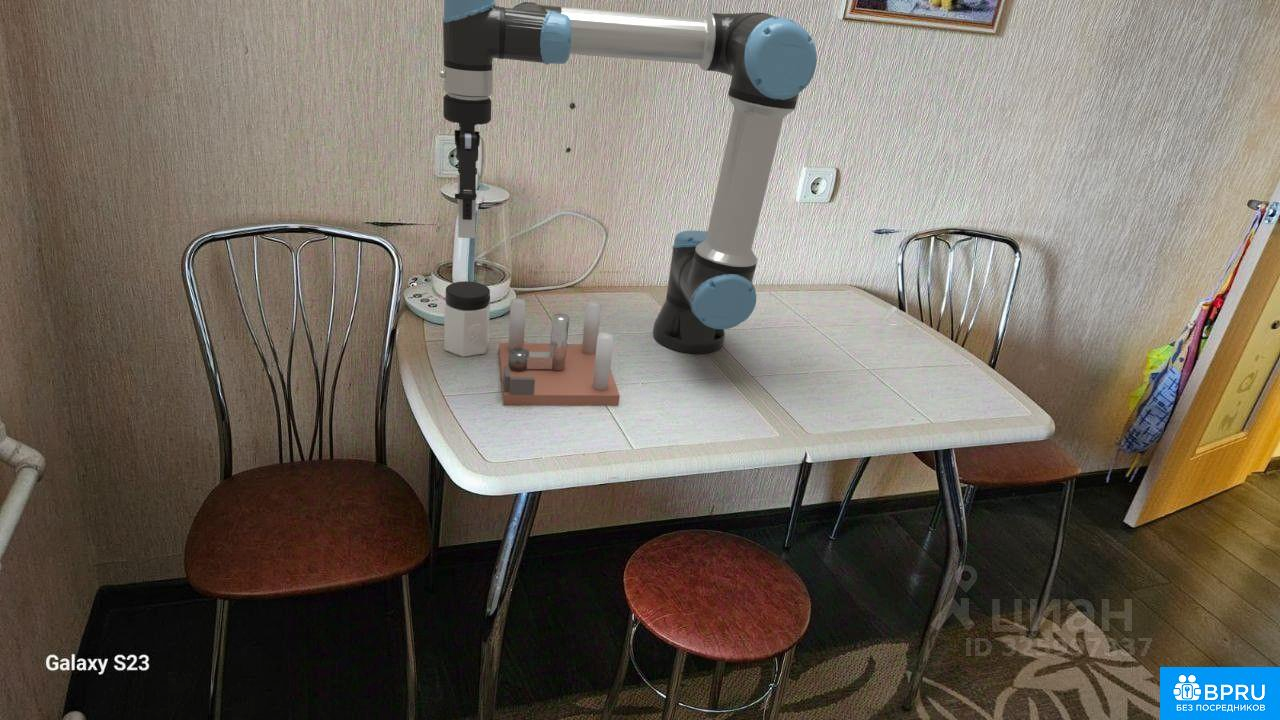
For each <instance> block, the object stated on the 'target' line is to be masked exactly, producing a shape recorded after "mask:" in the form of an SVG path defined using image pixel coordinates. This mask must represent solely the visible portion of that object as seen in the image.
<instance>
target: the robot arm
mask: <svg viewBox="0 0 1280 720" xmlns="http://www.w3.org/2000/svg"><path fill="white" fill-rule="evenodd" d="M442 29H443V31H442V32H443V33H442V34H443V35H442V38H443V41H442V42H443V43H442V45H443V49H442V50H443V71H440V72H439V77H440V78H442V79H443V91H444V92H445V93H447V94H445V95H444V96H443V98H442V99H443V105H442V107H443V110H442V111H443V118H444V119H445V120H446V121H448V122H450V123H454V124H455V123H457V124H458V129H454V144H455V150H456V151H455V152H456V160H457V161H458V162H457V166H458V167H457V172H458V174H457V193H454V200H457V213H458V214H457V215H458V216H457V217H458V218H457V219H458V220H457V222H458V223H457V224H458V225H457V227H458V229H457V231H458V232H457V235H458V236H457V237H458V238H460V239H461V238H462V239H476V216H477V215H476V213H477V212H476V211H477V209H476V207H477V204H476V203H477V197H478V196H477V195H478V194H477V192H476V191H477V185H476V184H477V175H478V168H477V162H478V160H479V147H480V143H481V142H480V141H481V134H480V131H478V130H475V129H476V125H486V124H489V123H491V120H492V99H491V98H490V96H491V95H492V94H493V77H494V75H493V62H494V61H493V59H498V60H510V61H522V62H530V63H531V62H532V63H540V64H545V65H551V64H556V65H557V64H558V65H564V64H566V63H567V62H568V61H569V58H570V55H577V56H578V55H579V56H590V57H591V56H593V57H602V58H603V57H605V58H614V59H616V58H617V59H630V60H642V61H643V60H644V61H656V62H667V63H680V64H681V63H682V64H690V65H693V64H694V65H698V66H699V68H700V69H701V70H702V71H708V72H718V73H721V74H725V75H728V76H731V80H730V84H729V89H728V95H727V97H728V99H729V101H730V103H731V104H732V106H733V113H732V117H731V122H730V127H729V130H728V136H727V140H726V144H725V149H724V155H723V160H722V163H721V166H720V167H721V168H720V173H719V177H718V181H717V182H718V183H717V186H716V191H715V195H714V200H713V205H712V209H711V215H710V218H709V219H710V220H709V224H708V228H707V231H706V230H705V231H704V230H683V231H680V232H678V233H677V234H676V235H675V237H674V242H673V245H672V254H671V262H670V268H669V276H668V282H667V289H666V297H665V301H664V302H663V305H662V307H661V309H660V311H659V313H658V314H657V317H656V319H655V321H654V322H653V329H652V335H653V338H654V340H655V341H657V342H658V343H659V344H660V345H662V346H664V347H666V348H669V349H671V350H672V351H673V350H674V351H677V352H681V353H685V354H686V353H687V354H708V353H714V352H717V351H718V350H720V349H722V347H723V346H724V344H725V343H724V342H725V339H726V338H725V337H726V330H728V329H731V328H735V327H737V326H738V325H740V324H741V323H744V322H746V320H748V319H749V317H750V316H751V315H752V313H753V312H754V310H755V307H756V304H757V292H756V288H755V285H754V283H753V280H754V276H755V271H756V268H757V263H758V258H757V256H756V254H755V253H754V251H753V246H754V240H755V236H756V232H757V227H758V225H759V220H760V216H761V212H762V207H763V205H764V200H765V195H766V191H767V187H768V183H769V180H770V174H771V171H772V166H773V162H774V159H775V154H776V151H777V147H778V143H779V137H780V134H781V129H782V126H783V121H784V119H785V118H786V117H787V116H788V115H789V114H791V113H793V112H794V111H795V110H796V106H797V102H798V99H799V95H800V93H802V91H803V90H804V89H806V88H807V87H808V86H809V84H810V83H811V82H812V79H813V78H814V76H815V72H816V68H817V61H818V58H817V57H818V55H817V49H816V46H815V43H814V40H813V39H812V36H811V35H810V34H809V32H808V31H807V29H805V28H804V27H803V26H801V25H799V24H798V23H797V22H795V21H794V20H792V19H789V18H787V17H779V16H775V15H772V14H769V13H766V12H765V13H764V12H759V11H758V12H739V13H737V12H736V13H720V12H719V13H717V12H707V13H706V14H705V15H704V16H703V17H692V16H691V17H690V16H680V15H679V16H677V15H667V14H654V13H642V12H633V11H632V12H631V11H619V10H605V9H598V8H597V9H596V8H595V9H594V8H585V7H584V8H583V7H571V6H555V5H548V4H547V5H546V4H537V3H535V2H531V1H522V2H521V3H517V4H515V5H514V6H513V7H512V8H511V7H510V8H508V7H504V6H503V7H502V6H498V5H496V2H495V0H443V19H442Z"/></svg>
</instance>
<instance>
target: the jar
mask: <svg viewBox="0 0 1280 720" xmlns="http://www.w3.org/2000/svg"><path fill="white" fill-rule="evenodd" d="M490 307H491V290H490V288H489V286H487V285H485V284H483V283H480V282H476V281H456V282H453V283H450V284H448V285H447V286H446V287H445V303H444V315H443V316H444V317H443V318H444V319H443V320H444V321H443V323H444V327H443V328H444V329H443V330H444V331H443V333H444V334H443V349H444V350H445V351H446V352H449V353H450V354H451V353H452V354H455V355H458V356H460V357H462V358H464V357H471V356H472V357H473V356H476V355H477V356H478V355H484V354H486V353H487V349H488V345H489V335H490V312H491V311H490Z"/></svg>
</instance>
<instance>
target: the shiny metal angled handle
mask: <svg viewBox="0 0 1280 720" xmlns="http://www.w3.org/2000/svg"><path fill="white" fill-rule="evenodd" d="M569 324H570V316H569V315H568V314H566V313H559V312H558V313H553V314H552V317H551V329H550V331H551V332H550V343H549V344H550V352H529V351H528V350H526V349H524V348H513V349H511V350H509V361H508V366H509V368H510V369H512V370H516V371H522V370H526V369H552V370H563V369H564V368H565V362H566V350H567V344H568V340H569V339H568V338H569V327H570V325H569Z"/></svg>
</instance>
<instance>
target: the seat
mask: <svg viewBox="0 0 1280 720" xmlns="http://www.w3.org/2000/svg"><path fill="white" fill-rule="evenodd" d="M526 309H527V300H525V299H523V298H517V297H516V298H515V297H514V298H512V299H511V300H510V310H509V311H510V312H509V330H508V342H498V358H499V359H498V361H499V370H500V381H501V390H502V400H503V406H619V403H620V392H619V390H618V386H617V383H616V381H615V379H614V375H613V372H612V370H611V367H612V366H611V365H612V356H613V348H614V338H615V336H614V335H613V334H611V333H609V332H600V333H599V330H600V329H599V328H600V321H601V320H600V319H601V311H602V303H601V302H599V301H598V300H588V301H587V302H586V303H585V313H584V322H583V323H584V324H583V325H584V326H583V332H582V333H583V334H582V335H583V336H582V344H581V343H577V344H576V343H575V344H574V343H567V350H566V362H565V368H564V369H563V370H552V369H526V370H522V371H516V370H512V369H510V368H509V366H508V361H509V350H511V349H513V348H524V349H526V350H528V351H529V352H550V343H531V342H530V343H529V342H528V343H527V342H525V329H526V327H525V326H526V325H525V324H526V312H527V310H526Z"/></svg>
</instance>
